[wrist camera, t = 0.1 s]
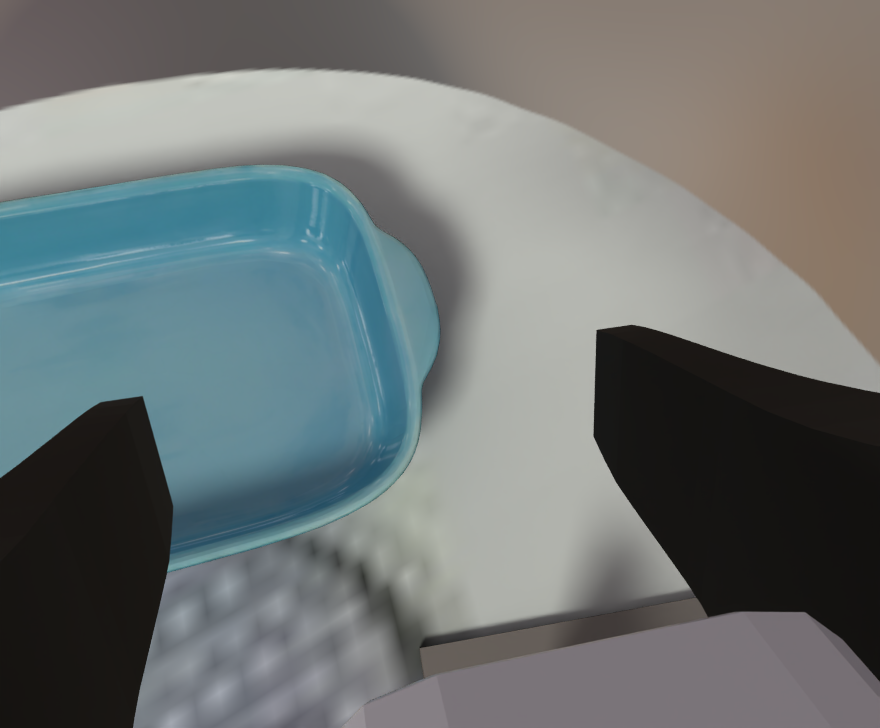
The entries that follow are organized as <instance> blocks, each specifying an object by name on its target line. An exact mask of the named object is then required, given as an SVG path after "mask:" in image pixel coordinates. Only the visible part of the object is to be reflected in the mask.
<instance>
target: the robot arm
mask: <svg viewBox="0 0 880 728" xmlns="http://www.w3.org/2000/svg"><path fill="white" fill-rule="evenodd" d="M594 438H595V441H596V443H597V445H598V447H599V449H600V451H601V453H602V455H603V457H604V460H605V462H606V464H607V466H608V467H609V469H610V471H611V473H612V475H613V477H614V479H615V481H616V483H617V484H618V486H619V487H620V489H621V490H622V492H623V493H624V495H625V496H626V497H627V499H628V500H629V502H630V503H631V505H632V506H633V508H634V509H635V510H636V512H637V513H638V515H639V516H640V518H641V519H642V520H643V522H644V523H645V525H646V526H647V527H648V529H649V530H650V532H651V533H652V534H653V536H654V537H655V539H656V540H657V541H658V543H659V544H660V546H661V547H662V548H663V550H664V551H665V553H666V554H667V555H668V557H669V558H670V560H671V561H672V562H673V564H674V565H675V567H676V568H677V569H678V571H679V572H680V574H681V575H682V576H683V578H684V579H685V581H686V582H687V584H688V585H689V587H690V588H691V590H692V591H693V593H694V594H695V596H696V598H697V599H698V601H699V602H700V604H701V605H702V607H703V609H704V611H705V613H706V614H707V616H708V617H707V618H703V619H698V620H693V621H688V622H683V623H679V624H674V625H669V626H664V627H659V628H655V629H650V630H645V631H640V632H635V633H630V634H626V635H621V636H616V637H611V638H606V639H602V640H597V641H592V642H587V643H582V644H577V645H573V646H568V647H563V648H558V649H553V650H549V651H544V652H539V653H534V654H529V655H525V656H520V657H515V658H510V659H505V660H500V661H496V662H491V663H486V664H481V665H476V666H472V667H467V668H462V669H457V670H452V671H448V672H443V673H438V674H434V675H431V676H429V677H427V678H424V679H422V680H419V681H417V682H414V683H412V684H409V685H407V686H405V687H402V688H400V689H397V690H395V691H392V692H390V693H387V694H385V695H383V696H380V697H378V698H375V699H373V700H370V701H369V702H368V703H366V704H365V705H363V706H362V707H361V708H360V709H359V710H358V711H357V712H356V713H355V714H354V715H353V716H352V717H351V718H350V719H349V720H348V722H347V723H346V724H345V725H344V726H343V727H342V728H880V393H877V392H871V391H866V390H861V389H856V388H851V387H847V386H842V385H837V384H832V383H828V382H823V381H819V380H815V379H811V378H807V377H803V376H799V375H796V374H792V373H788V372H785V371H781V370H778V369H774V368H771V367H767V366H764V365H761V364H757V363H754V362H751V361H748V360H745V359H741V358H738V357H735V356H732V355H729V354H726V353H723V352H720V351H717V350H714V349H711V348H708V347H706V346H703V345H700V344H697V343H694V342H691V341H688V340H685V339H682V338H679V337H676V336H673V335H670V334H667V333H663V332H660V331H657V330H653V329H650V328H646V327H641V326H636V325H628V326H621V327H614V328H607V329H600V330H597V334H596V368H595V403H594ZM173 507H174V506H173V503H172V499H171V495H170V492H169V488H168V485H167V481H166V477H165V474H164V470H163V467H162V463H161V460H160V456H159V452H158V449H157V445H156V442H155V438H154V434H153V431H152V427H151V424H150V420H149V416H148V413H147V409H146V406H145V402H144V399H143V396H139V397H132V398H125V399H118V400H111V401H104V402H100V403H98V404H97V405H95V406H93V407H92V408H90V409H89V410H87V411H86V412H84V413H83V414H82V415H80V416H79V417H78V418H76V419H75V420H74V421H73V422H71V423H70V424H69V425H67V426H66V427H65V428H64V429H62V430H61V431H60V432H59V433H57V434H56V435H55V436H54V437H52V438H51V439H50V440H49V441H47V442H46V443H45V444H44V445H42V446H41V447H40V448H38V449H37V450H36V451H35V452H33V453H32V454H31V455H30V456H28V457H27V458H26V459H25V460H23V461H22V462H21V463H20V464H18V465H17V466H16V467H14V468H13V469H12V470H10V471H9V472H7V473H6V474H5V475H3V476H2V477H1V478H0V728H133V724H134V717H135V712H136V706H137V701H138V696H139V690H140V686H141V682H142V677H143V673H144V669H145V665H146V661H147V656H148V652H149V648H150V644H151V639H152V635H153V631H154V627H155V622H156V618H157V614H158V610H159V606H160V601H161V597H162V592H163V588H164V584H165V579H166V575H167V570H168V565H169V560H170V549H171V538H172V522H173Z"/></svg>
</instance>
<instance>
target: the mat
mask: <svg viewBox="0 0 880 728" xmlns="http://www.w3.org/2000/svg"><path fill="white" fill-rule="evenodd" d="M707 617H708V616H707V614H706V613H705V611H704V609H703V607H702V605H701V604H700V602H699V601H698V599H697V598H691V599H685V600H680V601H675V602H669V603H664V604H658V605H653V606H647V607H642V608H636V609H631V610H626V611H620V612H615V613H609V614H604V615H598V616H593V617H587V618H582V619H577V620H571V621H566V622H560V623H555V624H549V625H544V626H538V627H533V628H528V629H522V630H517V631H511V632H506V633H500V634H495V635H489V636H484V637H479V638H473V639H468V640H462V641H457V642H451V643H446V644H440V645H435V646H430V647H424V648H420V649H419V650H420V657H421V663H422V670H423V676H424V678H427V677H429V676H431V675H434V674H438V673H443V672H448V671H452V670H457V669H462V668H467V667H472V666H476V665H481V664H486V663H491V662H496V661H500V660H505V659H510V658H515V657H520V656H525V655H529V654H534V653H539V652H544V651H549V650H553V649H558V648H563V647H568V646H573V645H577V644H582V643H587V642H592V641H597V640H602V639H606V638H611V637H616V636H621V635H626V634H630V633H635V632H640V631H645V630H650V629H655V628H659V627H664V626H669V625H674V624H679V623H683V622H688V621H693V620H698V619H703V618H707Z"/></svg>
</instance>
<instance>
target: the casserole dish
mask: <svg viewBox="0 0 880 728" xmlns="http://www.w3.org/2000/svg"><path fill="white" fill-rule="evenodd" d="M439 343H440V319H439V314H438V308H437V305H436V301H435V298H434V295H433V292H432V289H431V286H430V283H429V281H428V278H427V276H426V274H425V272H424V269H423V267H422V266H421V264H420V263H419V261H418V259H417V258H416V256H415V255H414V254H413V253H412V252H411V251H410V250H409V249H408V248H407V247H406V246H405V245H404V244H403V243H401V242H400V241H399V240H397V239H396V238H394V237H393V236H391V235H389V234H387V233H385V232H384V231H382V230H380V229H379V228H378V227H376V225H375V224H374V223H373V221H372V219H371V218H370V216H369V214H368V212H367V211H366V209H365V208H364V206H363V205H362V203H361V202H360V201H359V200H358V198H357V197H356V196H355V195H354V194H353V193H352V192H351V191H350V190H349V189H348V188H347V187H345V186H344V185H343V184H342V183H340V182H339V181H337V180H335V179H333V178H331V177H329V176H327V175H326V174H323V173H320V172H317V171H314V170H310V169H306V168H301V167H294V166H286V165H246V166H233V167H224V168H215V169H208V170H201V171H194V172H187V173H180V174H173V175H166V176H160V177H154V178H148V179H142V180H136V181H130V182H124V183H118V184H112V185H106V186H100V187H93V188H87V189H81V190H74V191H68V192H62V193H55V194H49V195H43V196H36V197H30V198H23V199H17V200H11V201H4V202H0V478H1V477H2V476H3V475H5V474H6V473H7V472H9V471H10V470H12V469H13V468H14V467H16V466H17V465H18V464H20V463H21V462H22V461H23V460H25V459H26V458H27V457H28V456H30V455H31V454H32V453H33V452H35V451H36V450H37V449H38V448H40V447H41V446H42V445H44V444H45V443H46V442H47V441H49V440H50V439H51V438H52V437H54V436H55V435H56V434H57V433H59V432H60V431H61V430H62V429H64V428H65V427H66V426H67V425H69V424H70V423H71V422H73V421H74V420H75V419H76V418H78V417H79V416H80V415H82V414H83V413H84V412H86V411H87V410H89V409H90V408H92V407H93V406H95V405H97V404H98V403H100V402H104V401H111V400H118V399H125V398H132V397H139V396H143V399H144V402H145V406H146V409H147V413H148V416H149V420H150V424H151V427H152V431H153V434H154V438H155V442H156V445H157V449H158V452H159V456H160V460H161V463H162V467H163V470H164V474H165V477H166V481H167V485H168V488H169V492H170V495H171V499H172V503H173V506H174V507H173V522H172V538H171V549H170V560H169V565H168V570H167V573H168V572H172V571H176V570H179V569H183V568H187V567H190V566H194V565H198V564H201V563H205V562H209V561H212V560H216V559H220V558H223V557H227V556H231V555H234V554H238V553H242V552H245V551H249V550H252V549H256V548H259V547H262V546H265V545H269V544H272V543H275V542H278V541H281V540H284V539H287V538H291V537H294V536H297V535H300V534H303V533H305V532H308V531H311V530H314V529H317V528H319V527H322V526H324V525H327V524H329V523H331V522H333V521H336V520H338V519H340V518H342V517H345V516H347V515H349V514H350V513H352V512H354V511H356V510H358V509H360V508H361V507H363V506H365V505H367V504H368V503H370V502H371V501H373V500H375V499H376V498H377V497H379V496H380V495H381V494H382V493H384V492H385V491H386V490H387V489H388V488H389V487H390V486H392V485H393V484H394V483H395V482H396V480H397V479H398V478H399V477H400V476H401V475H402V474H403V473H404V471H405V469H406V468H407V466H408V465H409V463H410V461H411V459H412V457H413V455H414V453H415V450H416V447H417V444H418V440H419V436H420V430H421V418H422V387H423V382H424V381H425V379H426V377H427V375H428V373H429V371H430V370H431V368H432V366H433V363H434V361H435V358H436V356H437V352H438V347H439Z"/></svg>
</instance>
